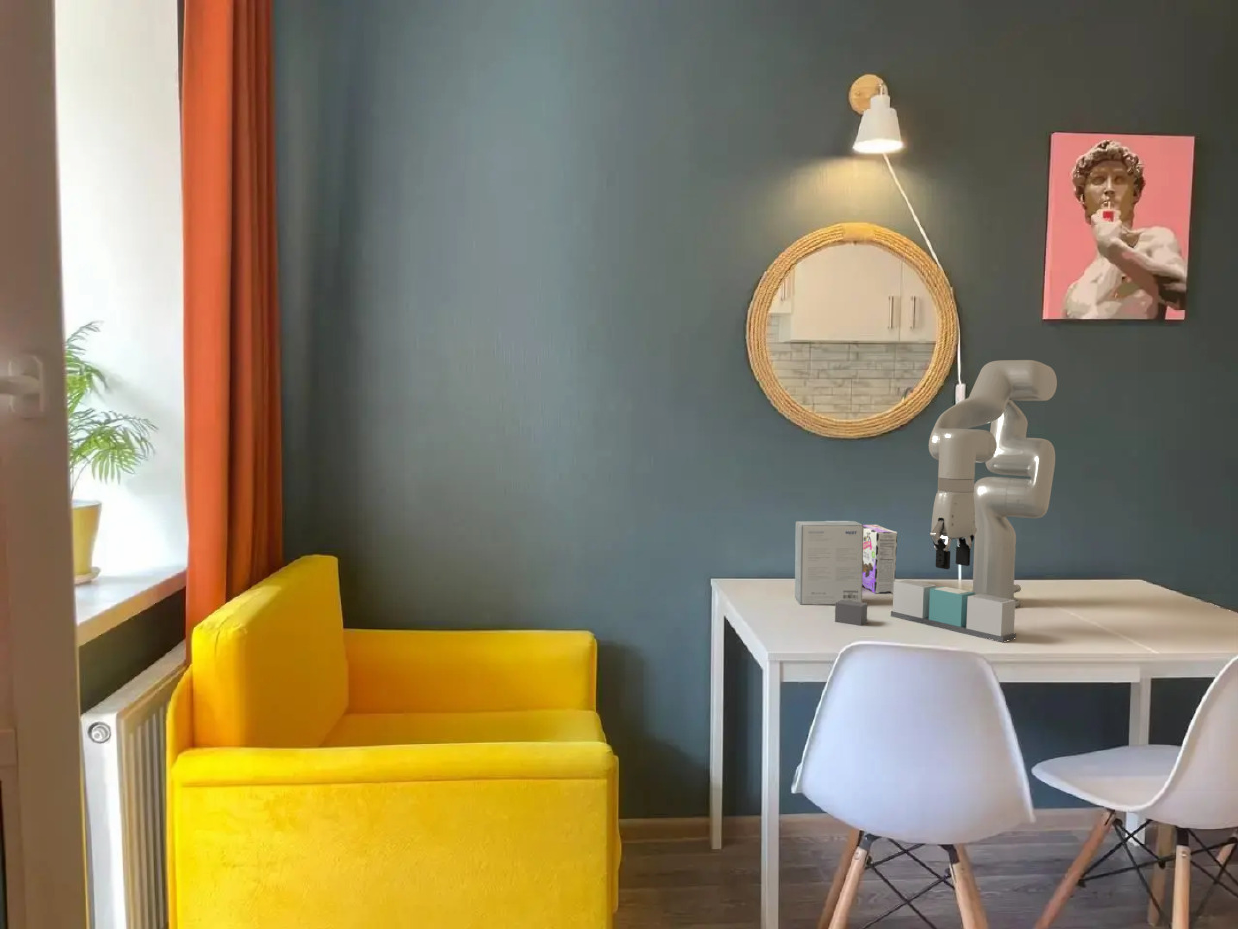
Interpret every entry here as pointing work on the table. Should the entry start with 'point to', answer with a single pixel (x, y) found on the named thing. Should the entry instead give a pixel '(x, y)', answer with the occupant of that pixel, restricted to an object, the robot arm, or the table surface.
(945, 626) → the rail
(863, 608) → the dark grey block
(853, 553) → the hard drive box
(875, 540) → the candy box
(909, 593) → the block
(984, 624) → the block
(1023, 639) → the table surface
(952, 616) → the block
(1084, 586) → the table surface
